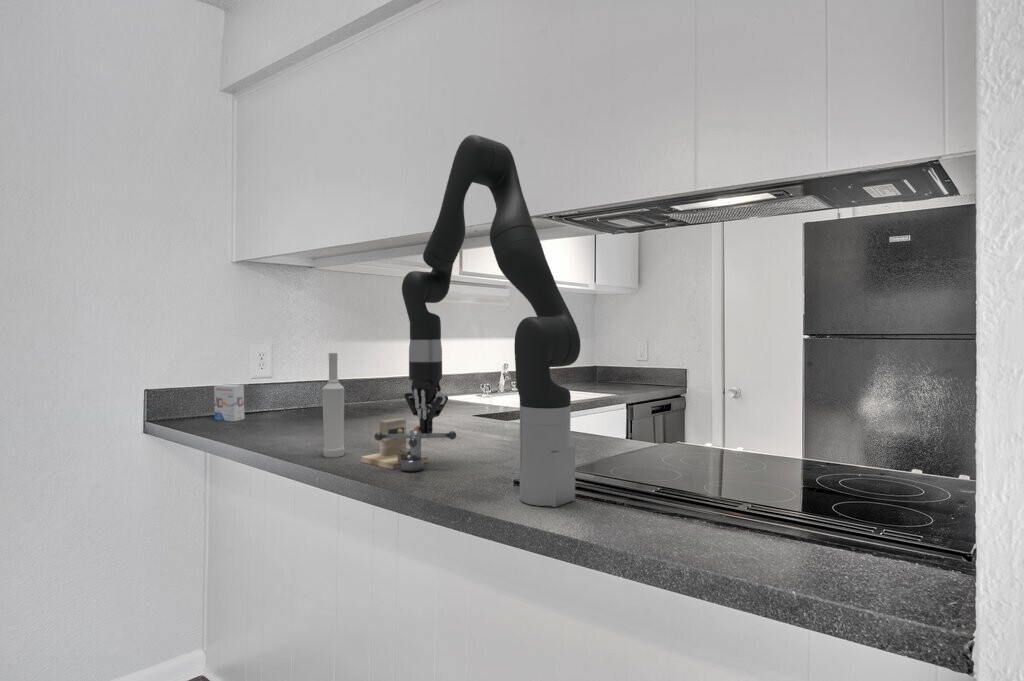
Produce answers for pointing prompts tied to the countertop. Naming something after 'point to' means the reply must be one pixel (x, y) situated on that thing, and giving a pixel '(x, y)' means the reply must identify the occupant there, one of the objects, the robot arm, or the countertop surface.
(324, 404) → the bottle
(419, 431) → the grey cross handle
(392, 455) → the stand
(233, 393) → the ink box
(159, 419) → the countertop surface
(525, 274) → the robot arm
